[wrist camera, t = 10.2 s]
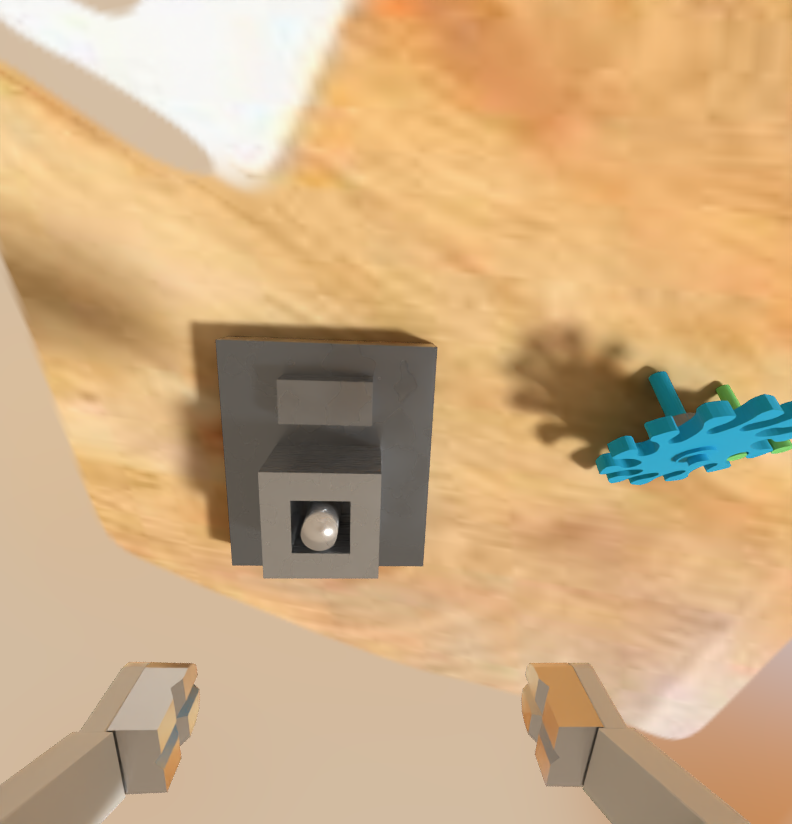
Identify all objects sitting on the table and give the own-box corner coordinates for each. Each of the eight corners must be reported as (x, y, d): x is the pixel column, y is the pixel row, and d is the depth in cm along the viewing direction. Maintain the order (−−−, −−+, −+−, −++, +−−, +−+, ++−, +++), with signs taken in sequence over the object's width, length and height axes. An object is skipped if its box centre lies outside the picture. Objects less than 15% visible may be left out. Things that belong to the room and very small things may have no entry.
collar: (276, 444, 24) (257, 472, 20) (380, 446, 24) (381, 474, 20) (280, 536, 26) (263, 578, 22) (377, 536, 26) (378, 578, 22)
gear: (570, 495, 26) (695, 420, 18) (546, 413, 29) (643, 315, 21) (714, 491, 28) (888, 423, 20) (678, 415, 31) (817, 327, 23)
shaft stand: (228, 336, 24) (177, 349, 18) (432, 343, 25) (451, 358, 19) (242, 546, 28) (203, 618, 22) (419, 548, 29) (432, 618, 22)
